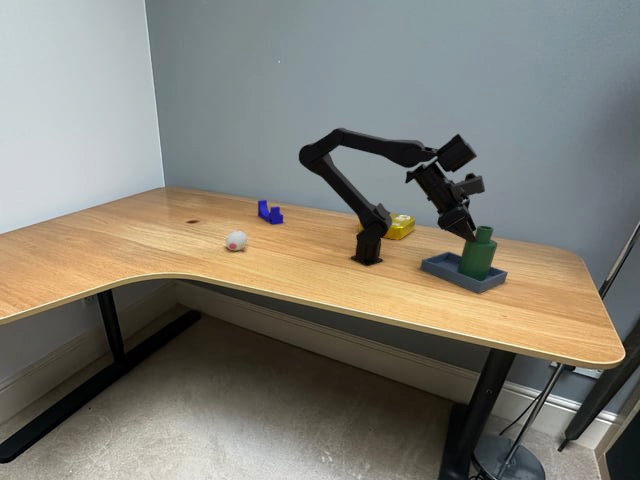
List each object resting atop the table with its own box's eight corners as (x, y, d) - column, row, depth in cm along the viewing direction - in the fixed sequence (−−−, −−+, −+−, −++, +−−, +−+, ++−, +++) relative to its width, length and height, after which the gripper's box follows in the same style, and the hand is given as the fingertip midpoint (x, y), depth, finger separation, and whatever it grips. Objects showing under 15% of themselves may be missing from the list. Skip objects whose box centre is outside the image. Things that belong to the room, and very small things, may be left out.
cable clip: (283, 223, 137) (283, 206, 134) (272, 224, 135) (272, 208, 132) (268, 214, 146) (268, 199, 144) (258, 216, 145) (258, 200, 142)
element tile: (374, 221, 138) (376, 208, 136) (415, 229, 130) (417, 216, 128) (356, 231, 128) (357, 218, 126) (399, 241, 119) (401, 226, 117)
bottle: (471, 284, 91) (486, 233, 85) (450, 273, 97) (463, 224, 91) (492, 280, 93) (508, 230, 87) (471, 269, 98) (485, 222, 92)
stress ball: (238, 254, 118) (228, 235, 118) (256, 245, 113) (246, 225, 113) (224, 261, 113) (213, 242, 112) (242, 251, 107) (231, 231, 107)
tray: (478, 293, 88) (481, 283, 87) (419, 269, 100) (422, 259, 99) (504, 282, 93) (508, 272, 92) (446, 260, 105) (448, 251, 104)
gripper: (467, 169, 78) (512, 227, 78) (468, 157, 92) (506, 206, 93) (419, 202, 85) (461, 255, 85) (428, 186, 99) (463, 232, 100)
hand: (474, 236), depth 91 cm, fingers open, 9 cm apart
